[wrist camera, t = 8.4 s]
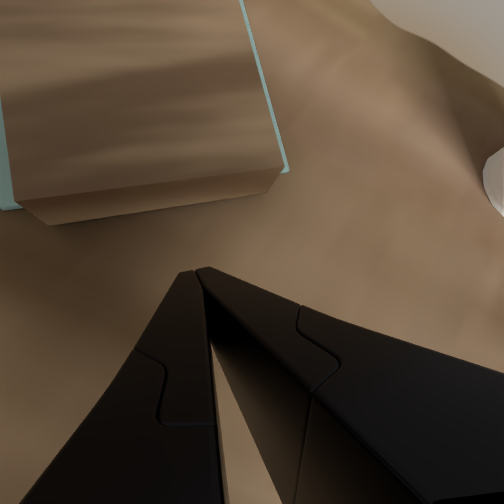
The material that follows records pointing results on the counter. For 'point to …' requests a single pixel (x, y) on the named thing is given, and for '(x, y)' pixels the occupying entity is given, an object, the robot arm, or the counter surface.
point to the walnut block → (131, 106)
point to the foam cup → (495, 180)
